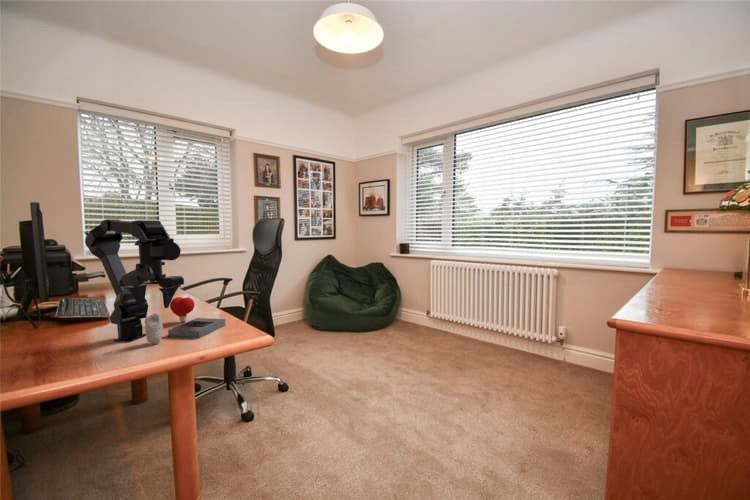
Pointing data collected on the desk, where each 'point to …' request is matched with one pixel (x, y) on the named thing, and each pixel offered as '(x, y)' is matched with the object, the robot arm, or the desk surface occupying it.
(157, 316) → the pale grey rock
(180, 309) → the light bulb
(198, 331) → the socket block
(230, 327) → the desk surface
